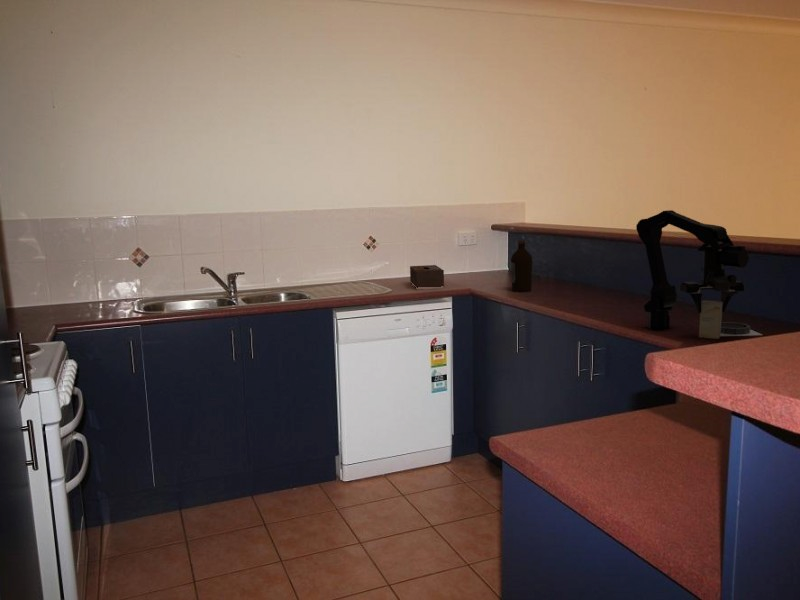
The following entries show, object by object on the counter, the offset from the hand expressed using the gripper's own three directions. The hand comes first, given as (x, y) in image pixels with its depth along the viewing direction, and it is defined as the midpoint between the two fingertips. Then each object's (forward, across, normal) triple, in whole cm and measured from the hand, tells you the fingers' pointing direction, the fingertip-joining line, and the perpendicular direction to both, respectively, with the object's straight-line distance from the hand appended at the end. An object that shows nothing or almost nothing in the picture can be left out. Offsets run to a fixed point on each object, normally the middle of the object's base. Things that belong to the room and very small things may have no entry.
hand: (711, 312), depth 218 cm
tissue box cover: (+9, -91, +140) cm, 167 cm away
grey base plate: (+9, +10, +7) cm, 15 cm away
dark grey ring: (+8, +10, +7) cm, 15 cm away
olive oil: (+9, -44, +113) cm, 122 cm away
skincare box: (+9, 0, 0) cm, 9 cm away
